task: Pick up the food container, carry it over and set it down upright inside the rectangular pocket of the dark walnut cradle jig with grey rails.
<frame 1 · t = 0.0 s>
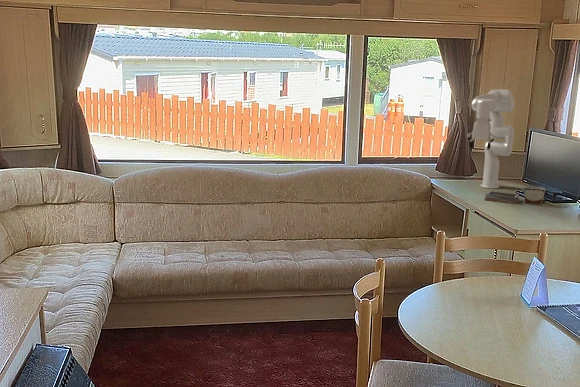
hand: (479, 148, 340), 31 cm above the table, tool pointing down, fingers open, 9 cm apart
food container: (532, 203, 338), on the table
cradle: (501, 200, 345), on the table
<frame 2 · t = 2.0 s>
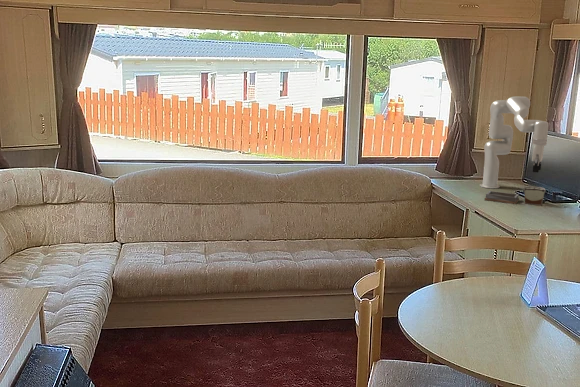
hand: (536, 171, 334), 20 cm above the table, tool pointing down, fingers open, 9 cm apart
nothing on the table moved.
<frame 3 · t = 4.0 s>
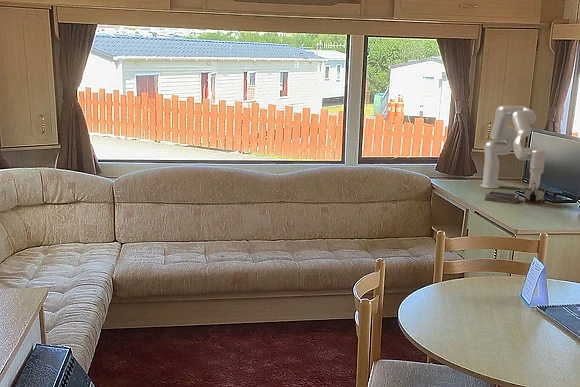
hand: (533, 199, 337), 2 cm above the table, tool pointing down, fingers closed on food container, 5 cm apart
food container: (532, 203, 338), on the table, touching gripper
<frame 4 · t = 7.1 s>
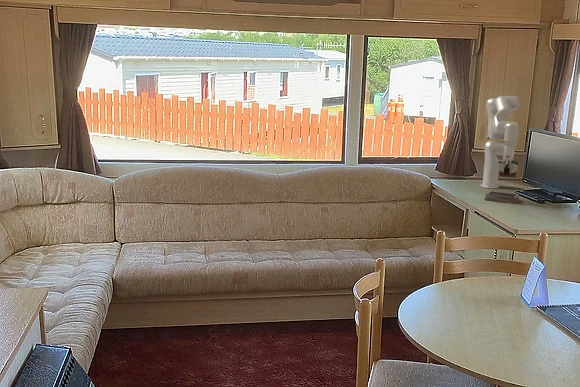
hand: (507, 173, 341), 17 cm above the table, tool pointing down, fingers closed on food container, 5 cm apart
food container: (506, 176, 342), point 15 cm above the table, touching gripper
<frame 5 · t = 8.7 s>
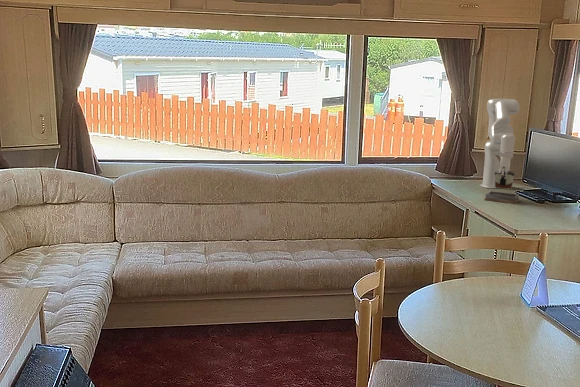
hand: (503, 184, 343), 10 cm above the table, tool pointing down, fingers closed on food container, 5 cm apart
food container: (503, 187, 344), point 8 cm above the table, touching gripper
when the fingers open (5 cm above the table, at t = 10.1 s): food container drops 1 cm, resting on cradle.
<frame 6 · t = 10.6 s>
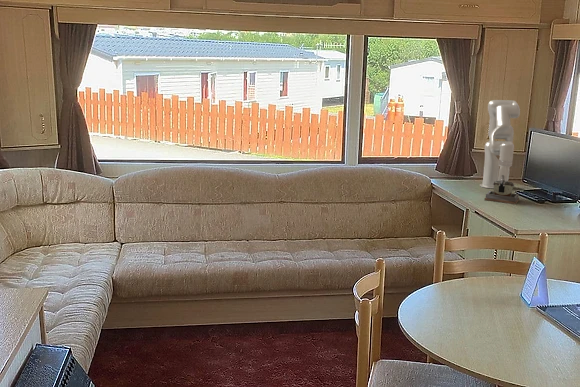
hand: (502, 190, 344), 6 cm above the table, tool pointing down, fingers open, 9 cm apart
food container: (502, 197, 347), point 1 cm above the table, touching cradle, gripper
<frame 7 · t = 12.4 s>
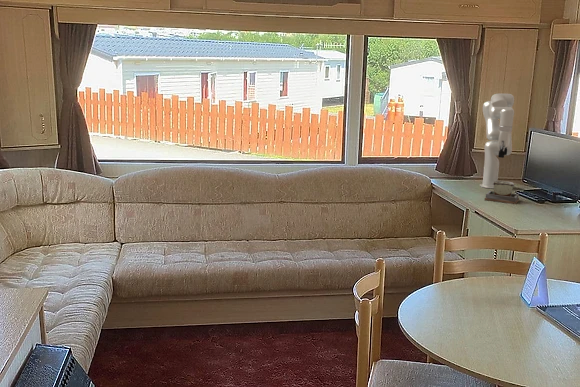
hand: (502, 156, 350), 26 cm above the table, tool pointing down, fingers open, 9 cm apart
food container: (502, 198, 347), point 1 cm above the table, touching cradle
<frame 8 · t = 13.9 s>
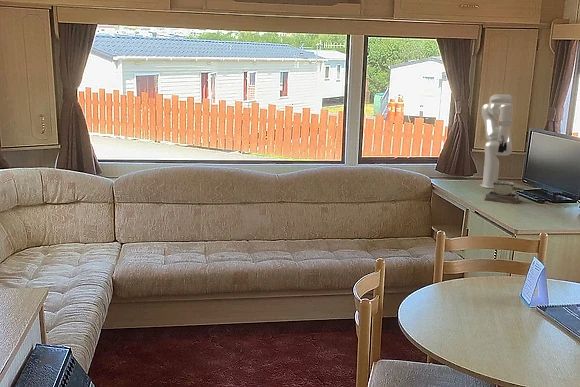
hand: (502, 151, 352), 28 cm above the table, tool pointing down, fingers open, 9 cm apart
nothing on the table moved.
at the end: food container 1.5 cm off-centre on the cradle, point 1.0 cm above the cradle's base; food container tilted 0°; the gripper is holding nothing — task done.
